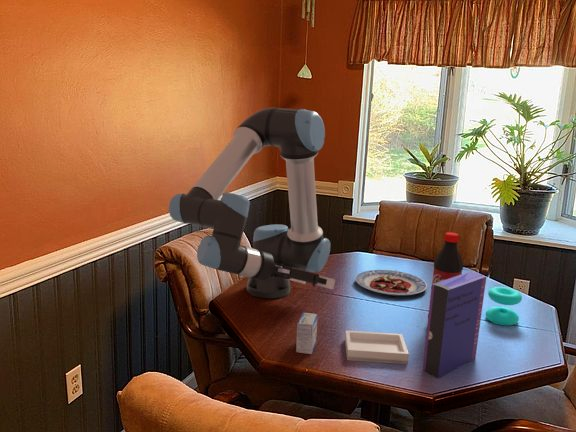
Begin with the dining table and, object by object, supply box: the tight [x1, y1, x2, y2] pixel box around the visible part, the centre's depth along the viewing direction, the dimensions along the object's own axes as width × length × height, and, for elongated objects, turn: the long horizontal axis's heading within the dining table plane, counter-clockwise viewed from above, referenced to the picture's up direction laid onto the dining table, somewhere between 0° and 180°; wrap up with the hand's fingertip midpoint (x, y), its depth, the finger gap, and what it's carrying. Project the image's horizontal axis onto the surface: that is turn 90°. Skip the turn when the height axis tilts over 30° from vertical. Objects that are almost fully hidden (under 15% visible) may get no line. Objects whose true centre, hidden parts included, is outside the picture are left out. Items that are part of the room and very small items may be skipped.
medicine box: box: [295, 312, 318, 355], centre depth 155 cm, size 8×4×9 cm, turn 168°
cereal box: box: [421, 271, 487, 379], centre depth 147 cm, size 17×5×24 cm, turn 131°
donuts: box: [485, 286, 523, 326], centre depth 179 cm, size 10×10×10 cm
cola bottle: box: [427, 232, 464, 314], centre depth 169 cm, size 8×8×30 cm
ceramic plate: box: [355, 269, 428, 296], centre depth 206 cm, size 26×26×3 cm
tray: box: [344, 330, 410, 365], centre depth 154 cm, size 12×16×3 cm
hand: (319, 281), depth 157 cm, fingers open, 13 cm apart
